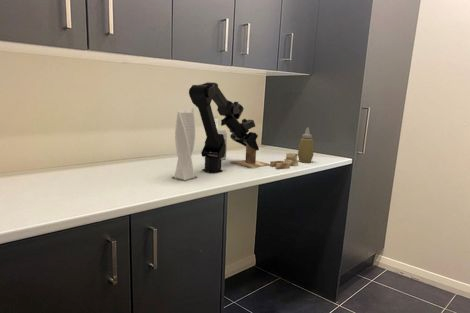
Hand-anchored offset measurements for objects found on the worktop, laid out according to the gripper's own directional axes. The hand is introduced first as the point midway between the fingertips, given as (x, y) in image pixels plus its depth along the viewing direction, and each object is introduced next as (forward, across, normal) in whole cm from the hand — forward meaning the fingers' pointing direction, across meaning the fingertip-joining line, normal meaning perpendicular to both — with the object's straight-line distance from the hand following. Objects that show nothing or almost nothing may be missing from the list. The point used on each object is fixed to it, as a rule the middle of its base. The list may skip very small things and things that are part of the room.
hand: (253, 148), depth 163 cm
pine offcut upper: (+16, -7, -9) cm, 20 cm away
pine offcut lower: (+18, -7, -7) cm, 21 cm away
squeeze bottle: (+27, -2, -16) cm, 31 cm away
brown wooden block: (+4, 0, +6) cm, 7 cm away
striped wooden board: (+4, 0, +6) cm, 8 cm away
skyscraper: (-23, -20, +34) cm, 46 cm away
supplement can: (-3, +16, +14) cm, 21 cm away
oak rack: (+12, -11, -1) cm, 16 cm away
